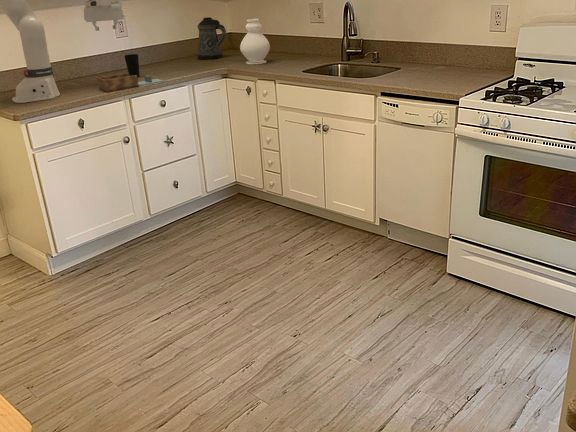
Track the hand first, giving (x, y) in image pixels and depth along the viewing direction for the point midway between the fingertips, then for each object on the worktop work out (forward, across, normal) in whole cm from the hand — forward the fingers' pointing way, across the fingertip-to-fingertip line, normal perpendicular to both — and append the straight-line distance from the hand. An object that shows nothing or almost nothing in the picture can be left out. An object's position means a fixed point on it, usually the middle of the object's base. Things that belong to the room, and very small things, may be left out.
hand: (106, 29), depth 311 cm
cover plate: (+28, -13, +15) cm, 35 cm away
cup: (+28, -16, -9) cm, 33 cm away
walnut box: (+28, +4, +15) cm, 32 cm away
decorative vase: (+26, -86, +11) cm, 91 cm away
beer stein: (+26, -80, -30) cm, 89 cm away
